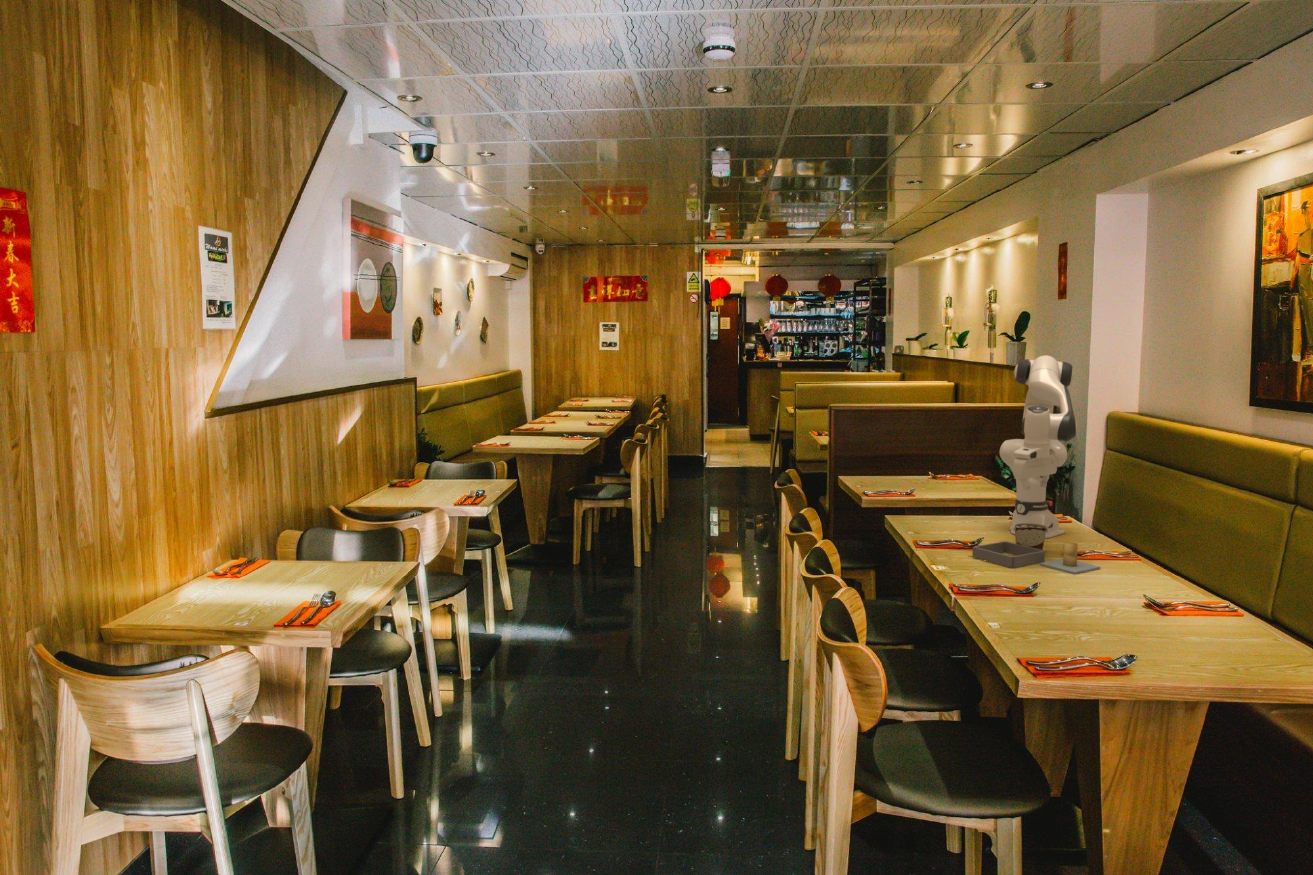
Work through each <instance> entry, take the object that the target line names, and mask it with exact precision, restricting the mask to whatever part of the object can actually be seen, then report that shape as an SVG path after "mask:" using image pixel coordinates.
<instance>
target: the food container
mask: <svg viewBox="0 0 1313 875" xmlns="http://www.w3.org/2000/svg"><path fill="white" fill-rule="evenodd" d="M1013 531H1015V534H1014V535H1015V544H1019V545H1023V546H1027V547H1031V548H1036V549H1040V550H1044V547H1045V546H1044V545H1045V540H1046V538H1045V534H1046V532H1048V531H1047V528H1046V526H1044V525H1040V524H1033V523H1019V524H1015V526H1014V529H1013Z"/></svg>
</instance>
